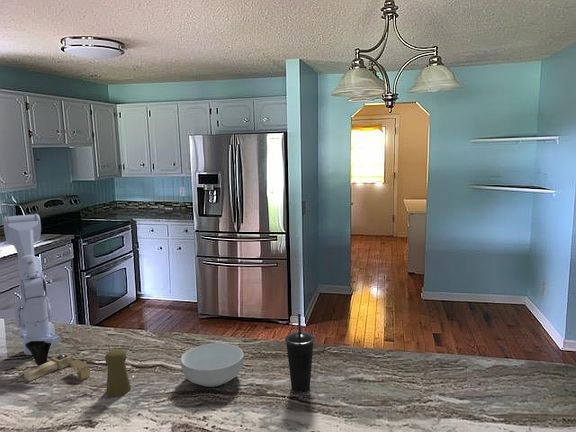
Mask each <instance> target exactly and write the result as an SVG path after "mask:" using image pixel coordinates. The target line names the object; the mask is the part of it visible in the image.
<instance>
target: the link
mask: <svg viewBox="0 0 576 432" xmlns="http://www.w3.org/2000/svg"><path fill="white" fill-rule="evenodd" d="M61 354H65V358H64V359H61V360H58V356H59V355H61ZM71 361H74V355H72V354H69V353H67V352H62V353H59V354H58V355H55V356H52V357H50V360H49V361H47V362H46V363H44V364H42V365H39V366H37V365H36V366H35V367H32V368H30V369H28V370H25V371H24V372H23V374H24V379H25V380H27V381H29V382H31V381H33V380H36V379H38V378H40V377H43V376H45V375H47V374H49V373H53V372H54V371H56V370H61V369H64V368H67V367H68V366H70V365H69V362H71Z"/></svg>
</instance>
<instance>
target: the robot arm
mask: <svg viewBox="0 0 576 432" xmlns="http://www.w3.org/2000/svg"><path fill="white" fill-rule="evenodd" d="M2 221H3V229H4V230H3V231H4V235H5V236H4V237H5V241H6V242H7V243H6V244H8V245H11V246H14V249H15V250H16V253H17V260H18V261H17V268H18V269H17V270H18V275H19V276H18V277H19V281H20V282H19V285H18V286H19V293H20V298H19V299H18V300H17V301H16V302H14V305H13V308H14V310H13V312H14V313H13V314H14V319H15V320H14V321H15V322H14V323H15V327H16V328H17V329H20V331H17V335H18V339H21V340H22V348H23V353H24V355H26V356H32V357H33V360H34V362H35V364H36V367H37V366H39V365H42V364H44V363H47V362H48V355H49V352H50V348H51V347H52V346H56V345H58V344H60V343H61V339H60V336H59V335H57V334H56V329H55V326H54V324H53V322H51V321H52V320H53V315H52V306H51V303H50V299H49V298H48V297H47V296H48V284H47V280H46V277H45V274H44V273H43V269H42V263H41V259H40V258H39V257H38V256H37V255H36V256H35V243H37V242H39V241H40V238H41V236H42V235H41V232H42V223H41V218H40V215H39V214H38V213H34V214H24V215H22V214H21V215H13V216H7V215H5V216H4V217H3V218H2Z"/></svg>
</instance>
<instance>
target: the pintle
mask: <svg viewBox="0 0 576 432" xmlns="http://www.w3.org/2000/svg"><path fill="white" fill-rule="evenodd" d="M60 354H61V355H60ZM60 354H58V355H59V356H58V355H57V356H58V360H61V359H64V358H65V354H62V353H60Z"/></svg>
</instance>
